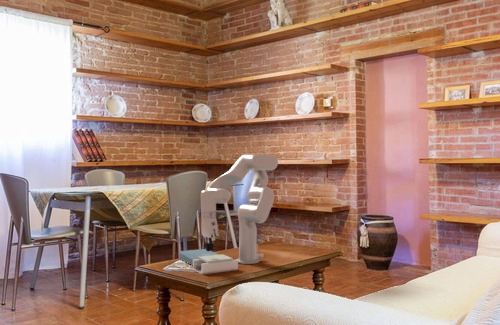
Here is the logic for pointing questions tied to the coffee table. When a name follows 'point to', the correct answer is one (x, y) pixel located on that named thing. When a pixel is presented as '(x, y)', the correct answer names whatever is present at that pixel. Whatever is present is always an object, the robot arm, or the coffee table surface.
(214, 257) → the cover
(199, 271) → the white channel
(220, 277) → the coffee table surface
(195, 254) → the book
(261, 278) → the coffee table surface
